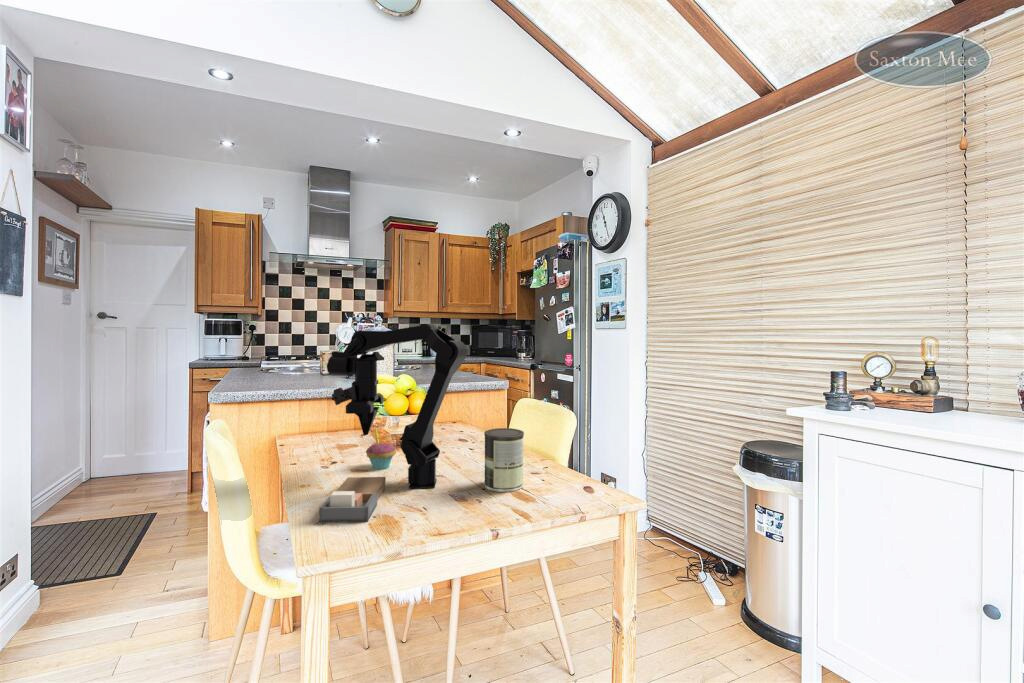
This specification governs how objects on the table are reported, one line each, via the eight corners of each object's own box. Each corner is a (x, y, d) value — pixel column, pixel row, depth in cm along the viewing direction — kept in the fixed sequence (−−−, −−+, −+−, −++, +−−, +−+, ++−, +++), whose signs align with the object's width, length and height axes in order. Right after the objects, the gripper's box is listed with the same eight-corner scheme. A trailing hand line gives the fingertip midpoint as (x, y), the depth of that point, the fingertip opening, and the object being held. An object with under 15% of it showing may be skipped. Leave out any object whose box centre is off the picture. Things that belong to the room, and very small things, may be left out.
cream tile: (354, 491, 106) (351, 494, 104) (354, 511, 106) (351, 515, 104) (334, 491, 106) (330, 495, 103) (334, 511, 106) (330, 516, 103)
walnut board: (385, 486, 125) (385, 476, 125) (375, 504, 112) (375, 493, 112) (348, 487, 124) (348, 477, 124) (333, 505, 111) (333, 494, 111)
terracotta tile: (362, 504, 111) (362, 493, 111) (357, 511, 106) (357, 500, 106) (342, 504, 110) (342, 493, 110) (336, 511, 106) (336, 500, 106)
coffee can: (476, 487, 124) (476, 433, 124) (497, 477, 133) (498, 426, 133) (510, 495, 119) (510, 438, 119) (530, 483, 128) (531, 430, 128)
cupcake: (360, 470, 139) (360, 428, 139) (375, 462, 148) (375, 423, 147) (387, 472, 137) (387, 430, 137) (401, 464, 146) (401, 424, 145)
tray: (377, 505, 112) (377, 492, 112) (367, 521, 102) (367, 507, 102) (332, 505, 111) (332, 492, 111) (319, 522, 101) (318, 508, 101)
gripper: (344, 373, 139) (344, 427, 140) (324, 380, 121) (324, 443, 121) (383, 373, 140) (383, 427, 141) (370, 380, 122) (370, 442, 122)
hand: (365, 434), depth 131 cm, fingers closed
